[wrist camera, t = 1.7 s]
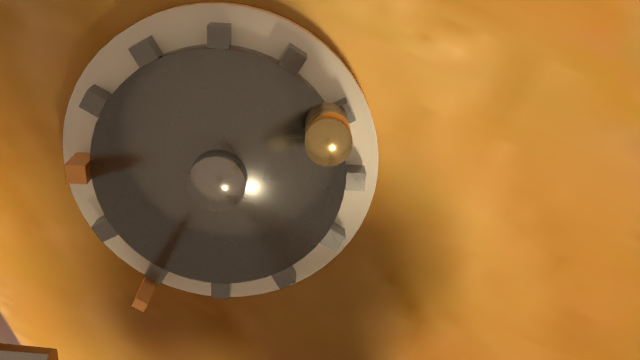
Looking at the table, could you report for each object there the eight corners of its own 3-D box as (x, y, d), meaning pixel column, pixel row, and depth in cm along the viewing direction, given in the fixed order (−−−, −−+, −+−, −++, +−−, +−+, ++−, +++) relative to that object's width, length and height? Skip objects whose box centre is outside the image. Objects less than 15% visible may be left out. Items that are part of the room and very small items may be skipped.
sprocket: (421, 127, 43) (436, 155, 38) (269, 328, 50) (265, 374, 45) (160, -42, 38) (137, -36, 33) (30, 206, 45) (-5, 242, 40)
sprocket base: (437, 115, 45) (454, 141, 40) (274, 330, 52) (270, 374, 47) (158, -69, 39) (137, -67, 34) (20, 200, 47) (-14, 235, 42)
